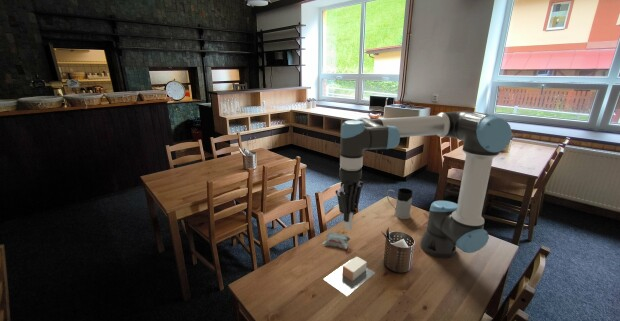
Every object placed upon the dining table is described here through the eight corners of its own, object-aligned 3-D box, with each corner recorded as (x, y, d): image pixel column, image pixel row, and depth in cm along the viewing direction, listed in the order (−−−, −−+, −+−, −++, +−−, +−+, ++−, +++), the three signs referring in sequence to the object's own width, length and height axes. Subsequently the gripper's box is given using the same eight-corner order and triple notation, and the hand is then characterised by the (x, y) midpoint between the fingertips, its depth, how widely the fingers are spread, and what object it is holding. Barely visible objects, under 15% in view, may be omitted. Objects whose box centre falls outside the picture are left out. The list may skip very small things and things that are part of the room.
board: (351, 261, 124) (351, 258, 124) (375, 275, 116) (375, 272, 115) (323, 281, 112) (323, 279, 112) (347, 298, 104) (347, 296, 103)
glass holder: (408, 220, 157) (411, 195, 152) (383, 213, 164) (385, 189, 159) (411, 213, 164) (415, 189, 159) (387, 207, 171) (389, 184, 166)
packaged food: (346, 253, 129) (347, 243, 128) (321, 247, 133) (321, 238, 131) (350, 242, 137) (351, 233, 136) (326, 237, 141) (326, 229, 139)
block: (342, 274, 114) (356, 264, 120) (352, 281, 111) (366, 270, 117) (342, 266, 113) (356, 256, 119) (352, 272, 110) (366, 262, 115)
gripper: (353, 160, 103) (350, 217, 111) (329, 169, 95) (328, 230, 102) (371, 165, 98) (366, 225, 106) (347, 175, 90) (344, 239, 97)
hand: (347, 227), depth 104 cm, fingers closed
